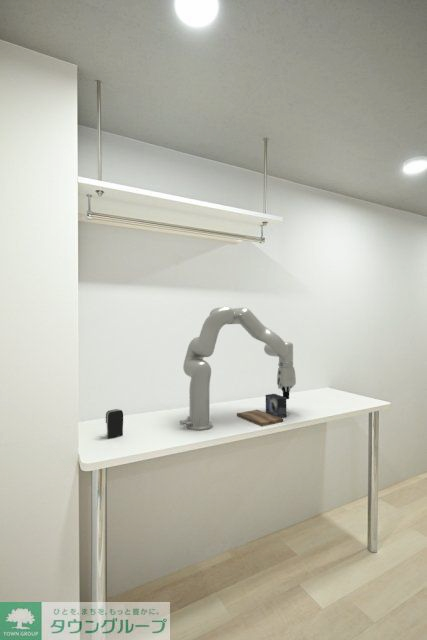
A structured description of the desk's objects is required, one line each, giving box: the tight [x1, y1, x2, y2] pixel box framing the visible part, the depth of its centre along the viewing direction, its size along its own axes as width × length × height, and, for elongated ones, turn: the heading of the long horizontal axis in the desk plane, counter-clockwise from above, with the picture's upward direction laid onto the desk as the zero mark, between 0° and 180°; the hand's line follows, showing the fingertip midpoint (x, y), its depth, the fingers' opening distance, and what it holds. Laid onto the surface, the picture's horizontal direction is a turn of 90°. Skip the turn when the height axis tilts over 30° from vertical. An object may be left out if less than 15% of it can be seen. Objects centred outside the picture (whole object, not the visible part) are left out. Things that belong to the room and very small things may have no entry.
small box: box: [265, 393, 288, 419], centre depth 172 cm, size 11×6×10 cm, turn 27°
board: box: [236, 409, 284, 427], centre depth 165 cm, size 14×20×2 cm
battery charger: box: [105, 408, 124, 439], centre depth 140 cm, size 7×4×11 cm, turn 130°
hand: (286, 398), depth 176 cm, fingers closed
